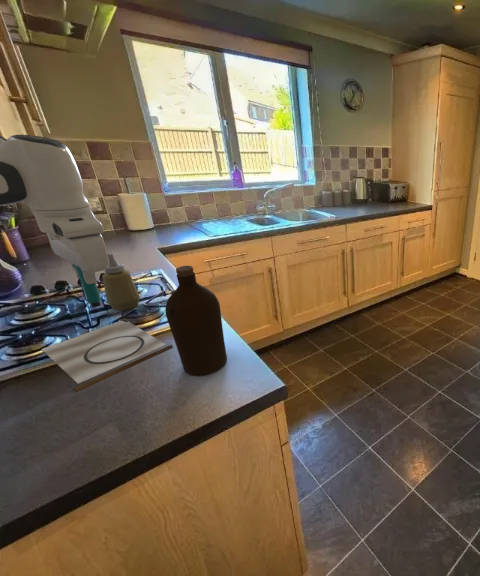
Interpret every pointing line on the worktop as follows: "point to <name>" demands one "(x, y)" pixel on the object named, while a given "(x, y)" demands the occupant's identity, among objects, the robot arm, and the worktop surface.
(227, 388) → the worktop surface
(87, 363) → the drawing board
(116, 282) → the squeeze bottle
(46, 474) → the worktop surface
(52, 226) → the robot arm
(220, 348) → the olive oil
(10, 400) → the worktop surface
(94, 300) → the marker
